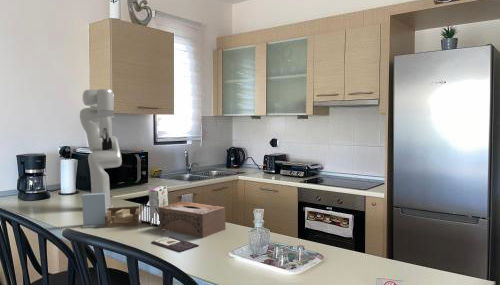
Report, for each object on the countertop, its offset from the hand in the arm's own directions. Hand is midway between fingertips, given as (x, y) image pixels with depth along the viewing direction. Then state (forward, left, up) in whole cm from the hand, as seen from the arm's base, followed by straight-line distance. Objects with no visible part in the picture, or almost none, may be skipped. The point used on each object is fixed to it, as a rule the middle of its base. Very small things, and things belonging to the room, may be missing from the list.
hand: (107, 149), depth 202 cm
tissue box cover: (+32, +38, -35) cm, 61 cm away
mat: (+10, -5, -34) cm, 36 cm away
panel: (+10, -5, -34) cm, 36 cm away
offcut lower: (+13, +7, -35) cm, 38 cm away
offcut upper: (+13, +7, -31) cm, 34 cm away
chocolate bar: (+52, +30, -35) cm, 70 cm away
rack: (+10, +7, -34) cm, 37 cm away
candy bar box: (+16, +24, -35) cm, 45 cm away
